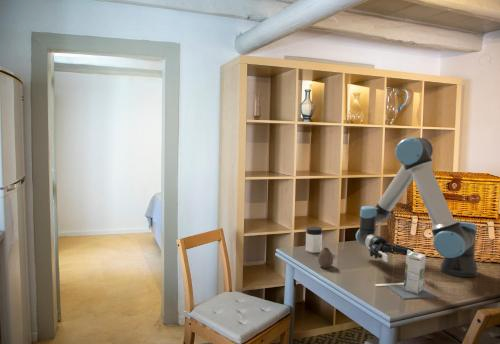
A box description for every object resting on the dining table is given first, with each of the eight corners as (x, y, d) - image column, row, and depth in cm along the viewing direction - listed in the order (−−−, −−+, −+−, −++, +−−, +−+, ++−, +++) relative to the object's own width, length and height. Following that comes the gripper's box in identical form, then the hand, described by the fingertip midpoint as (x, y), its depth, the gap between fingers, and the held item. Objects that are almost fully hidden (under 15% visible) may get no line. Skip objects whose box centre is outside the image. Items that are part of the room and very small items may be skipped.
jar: (308, 253, 209) (309, 230, 208) (302, 248, 217) (303, 226, 216) (324, 252, 211) (325, 229, 210) (318, 247, 219) (319, 226, 218)
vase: (327, 263, 193) (328, 245, 192) (335, 268, 187) (336, 249, 186) (315, 264, 191) (315, 246, 190) (322, 269, 184) (323, 250, 184)
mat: (418, 285, 168) (418, 284, 167) (437, 297, 156) (437, 296, 156) (387, 287, 165) (387, 286, 165) (403, 299, 153) (403, 298, 153)
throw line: (423, 282, 171) (423, 281, 171) (425, 283, 169) (425, 283, 169) (375, 285, 167) (375, 284, 167) (376, 286, 165) (376, 285, 165)
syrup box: (408, 286, 165) (410, 251, 164) (423, 290, 161) (425, 254, 160) (403, 290, 161) (405, 254, 159) (418, 294, 157) (420, 257, 156)
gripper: (400, 250, 193) (428, 265, 172) (351, 252, 188) (373, 268, 167) (401, 235, 192) (429, 248, 171) (352, 236, 187) (374, 250, 166)
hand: (401, 258), depth 169 cm, fingers open, 13 cm apart
